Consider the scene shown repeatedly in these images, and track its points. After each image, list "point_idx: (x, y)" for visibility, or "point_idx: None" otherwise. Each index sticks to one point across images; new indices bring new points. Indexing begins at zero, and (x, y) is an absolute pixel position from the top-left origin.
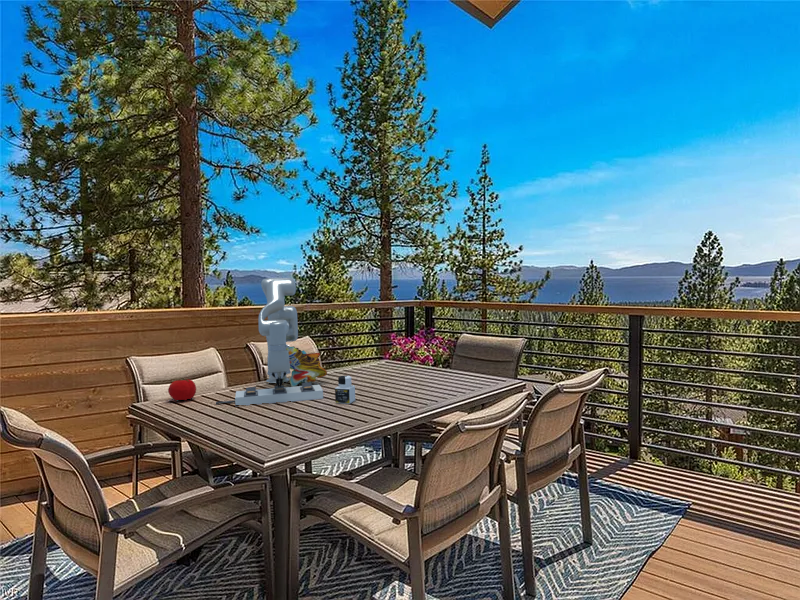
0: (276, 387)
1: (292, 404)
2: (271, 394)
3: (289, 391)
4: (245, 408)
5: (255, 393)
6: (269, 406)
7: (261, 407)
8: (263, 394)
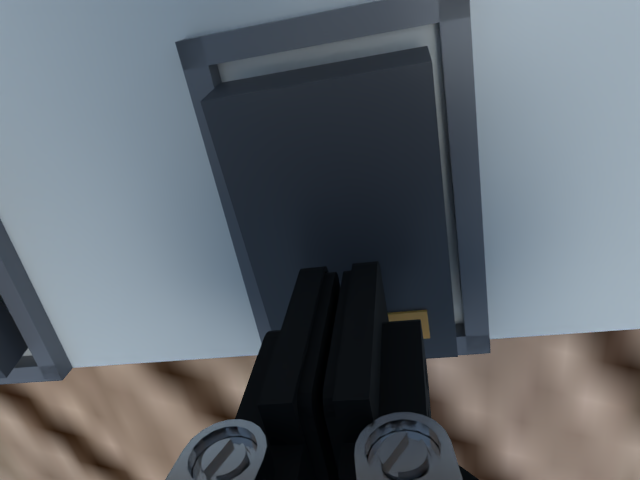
0: (278, 225)
1: (534, 394)
2: (245, 343)
3: (542, 209)
4: (59, 410)
5: (11, 364)
6: None
7: (204, 417)
8: (121, 314)
